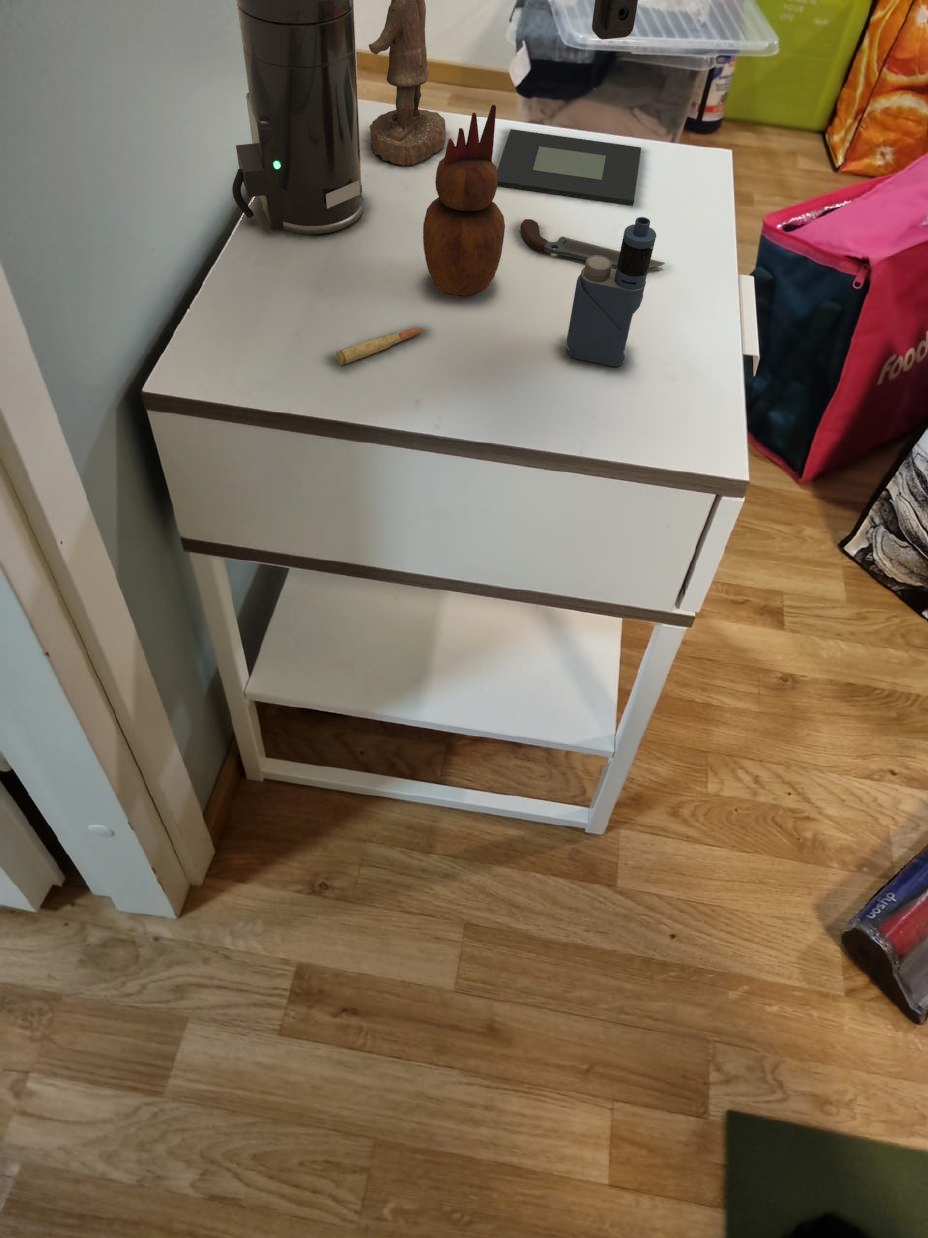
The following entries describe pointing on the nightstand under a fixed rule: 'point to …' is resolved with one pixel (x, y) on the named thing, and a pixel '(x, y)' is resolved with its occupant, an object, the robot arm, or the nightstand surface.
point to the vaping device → (610, 298)
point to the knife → (570, 246)
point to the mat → (569, 166)
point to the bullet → (373, 346)
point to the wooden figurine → (465, 215)
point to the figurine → (406, 89)
